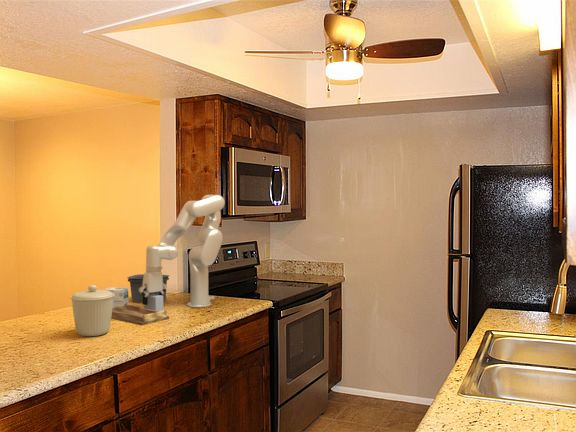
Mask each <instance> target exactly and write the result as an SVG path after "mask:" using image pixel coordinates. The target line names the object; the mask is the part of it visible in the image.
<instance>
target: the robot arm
mask: <svg viewBox="0 0 576 432" xmlns="http://www.w3.org/2000/svg"><path fill="white" fill-rule="evenodd" d="M225 203H226V202H225V198H224V197H223V196H222V195H220V194H206V195H203V197H201V199H200V200H188V201H186V203H184V205H183V207H182V208H181V210H180V212H179V214H178V216H177V218H176V219H175V221H174V223H173V224H172V225H171V227H169V228H168V230H167V231H166V232H165V233H164V234H163V236H162V237H161V239H160V241H159V243H158V244H157V245H156V244H155V245H153V244H152V245H148V246H146V252H145V253H146V254H145V259H146V260H145V272H144V273H143V274H144V277H143V285H142V287H140V288H139V292H140V294H141V295H142V297H143V303H142V305H148V297H147V296H148V294H149V293H153V292H158V293H159V294H158V295H161V296H163V294H164V292H165V291H166V292H167V289H168V285H165V284H163V276H162V275H163V272H162V270H163V267H162V260H167V261H172V260H175V259H176V258H177V257H178V255H179V250H178V248H177V247H176V246H174V245H175V243H176V242H177V241H178V239H180V238H181V237H183V236H185V235H186V234H187V233H189V231H190V229H191V228H192V225H193V224H194V223H195V220H196V218H202V217H204V221H203V223H202V225H201V227H200V228H201V229H200V231H199V233H198V236H197V239H198V242H199V243H200V244H201V245H202V246H201V245H200V246H197V245H196V246H193V248H191V249H190V251H189V252H188V261H189V262H188V263H189V273H190V274H189V275H190V276H189V277H190V280H189V281H190V283H189V284H190V285H189V286H190V291H189V292H190V301H189V302H187V307H190V308H206V307H210V306H211V305H212V302H211V300H215V296H214V295H211V296H210V295H209V266H211V265H213V264H214V263H215V261H216V259H217V258H218V254H219V251H220V250H221V247H222V244H223V239H224V238H223V233H222V231H220V230H219V227H220V223H221V220H222V217H221V216H222V215H221V212H220V211H221V210H223V209H224V207H225Z"/></svg>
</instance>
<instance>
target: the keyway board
mask: <svg viewBox="0 0 576 432" xmlns="http://www.w3.org/2000/svg"><path fill="white" fill-rule="evenodd" d="M169 319H170V316H169V315H168V310H165V309H163V311H156V310H150V309H145V306H138V305H133V304H129V305H124V306H119V307H114V308H112V316H111V320H117V321H120V322H121V321H122V322H126V323H130V324H134V325H140V326H144V325H145V326H146V325H149V324H153V323H154V324H155V323H157V322H158V323H159V322H162V321H165V320H169Z"/></svg>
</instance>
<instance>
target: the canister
mask: <svg viewBox="0 0 576 432" xmlns="http://www.w3.org/2000/svg"><path fill="white" fill-rule="evenodd" d="M87 289H88V290H81V291H77V292H74V293H73V294H72V295H70V296H69V299H70V300H71V306H72V313H73V319H74V326H75V331H76V333H77V334H78V335H79V336H82V337H97V336H103V335H106V333H108V332H109V330H110V328H111V323H112V318H111V316H112V306H113V297H114V296H115V294H114V293H112V292H110V291H107V290H104V289H98V287H97V285H95V284H90V285H88V288H87Z"/></svg>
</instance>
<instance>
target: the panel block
mask: <svg viewBox="0 0 576 432" xmlns="http://www.w3.org/2000/svg"><path fill="white" fill-rule="evenodd" d="M147 297H148V305H145V306H144V308H145V309H150V310H156V311H164V301H163V296H161V295H155V294H151V295H148V296H147Z"/></svg>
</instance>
